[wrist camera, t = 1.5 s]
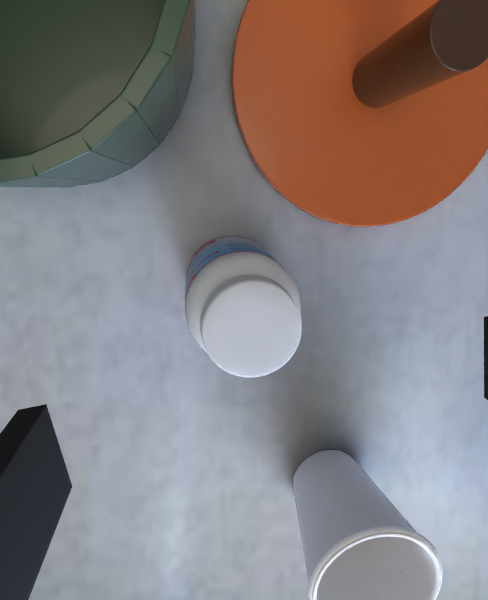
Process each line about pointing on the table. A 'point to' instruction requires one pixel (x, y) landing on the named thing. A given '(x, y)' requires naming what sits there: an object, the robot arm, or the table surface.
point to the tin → (89, 86)
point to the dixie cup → (358, 536)
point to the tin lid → (363, 102)
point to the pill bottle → (242, 307)
